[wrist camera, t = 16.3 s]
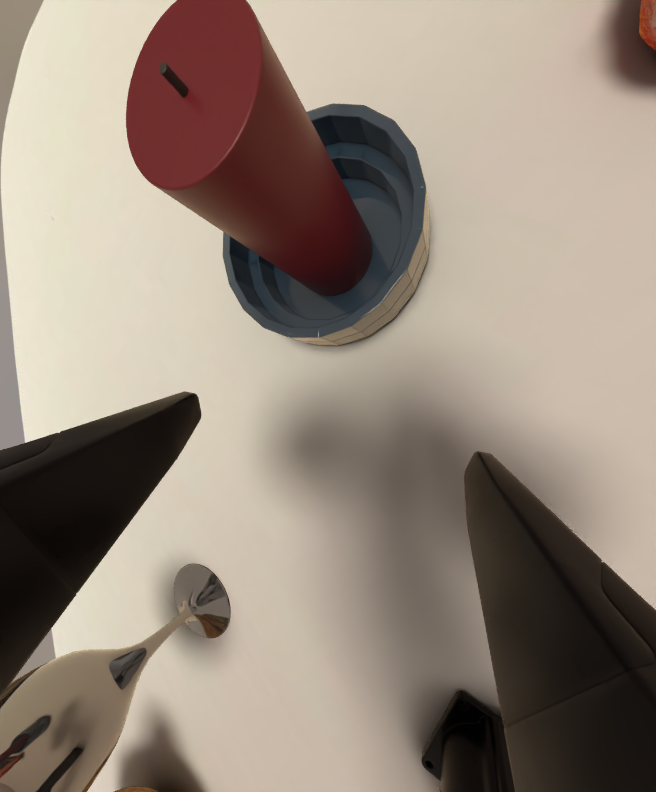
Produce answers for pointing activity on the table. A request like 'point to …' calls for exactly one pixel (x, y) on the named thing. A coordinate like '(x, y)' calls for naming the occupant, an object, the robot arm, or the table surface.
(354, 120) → the bowl
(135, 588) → the table surface
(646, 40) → the pomegranate
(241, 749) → the table surface
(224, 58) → the candle
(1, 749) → the wine glass
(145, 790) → the ceramic vessel
